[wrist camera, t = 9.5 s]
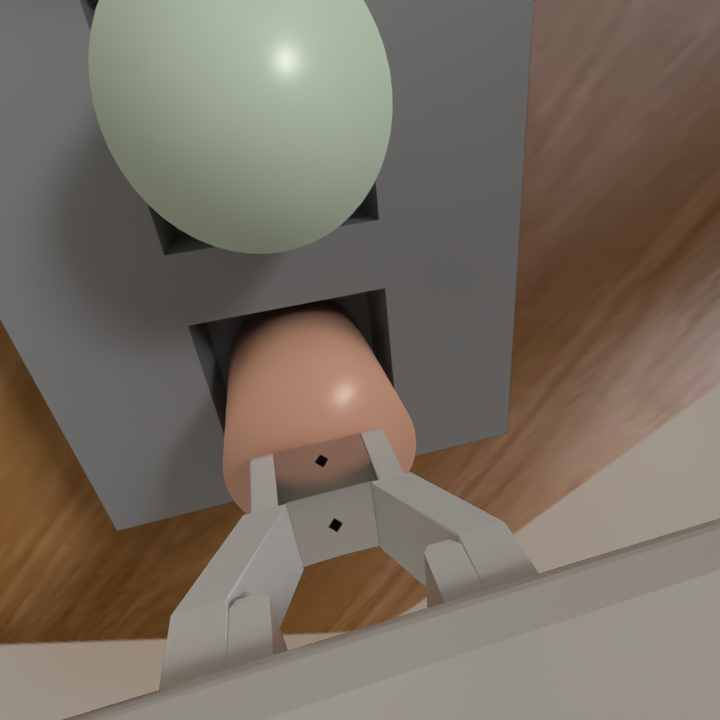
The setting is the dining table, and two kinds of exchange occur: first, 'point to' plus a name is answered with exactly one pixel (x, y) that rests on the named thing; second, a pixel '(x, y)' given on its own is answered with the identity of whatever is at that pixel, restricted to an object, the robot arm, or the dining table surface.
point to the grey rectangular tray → (259, 255)
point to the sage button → (244, 113)
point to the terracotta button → (304, 390)
